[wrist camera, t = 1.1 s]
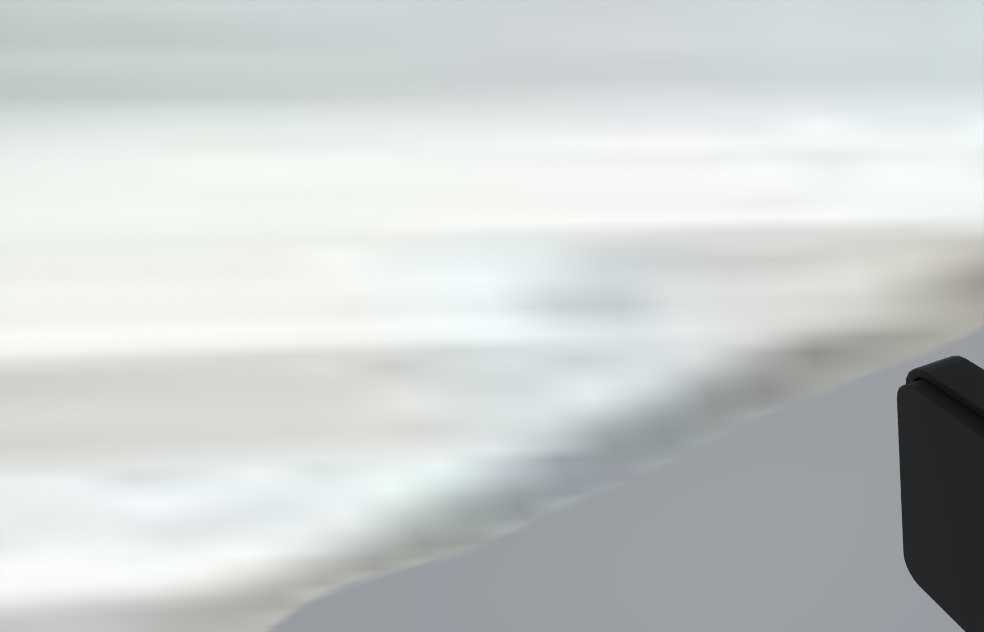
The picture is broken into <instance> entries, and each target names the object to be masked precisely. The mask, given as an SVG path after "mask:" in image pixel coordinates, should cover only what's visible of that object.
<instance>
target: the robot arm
mask: <svg viewBox="0 0 984 632" xmlns="http://www.w3.org/2000/svg"><path fill="white" fill-rule="evenodd" d="M897 409H898V430H899V431H898V433H899V456H900V480H901V503H902V526H903V527H902V528H903V551H904V559H905V562H906V565H907V568H908V570H909V572H910V574H911V575H912V577H913V579H914V580H915V581H916V583H917V584H918V585H919V586H920V587H921V588H922V589H923V590H924V591H925V592H926V593H927V594H928V595H929V596H930V597H931V598H932V599H933V600H934V601H935V602H936V603H937V604H938V605H939V606H940V607H941V608H942V609H943V610H944V611H945V612H946V613H947V614H948V615H949V616H950V617H951V618H952V619H953V620H954V621H955V622H956V623H957V624H958V625H959V626H960V627H961V628H962V629H964V631H965V632H984V370H983V369H982V368H980V367H978V366H977V365H975V364H973V363H972V362H970V361H969V360H967V359H965V358H963V357H960V356H951V357H948V358H945V359H942V360H939V361H936V362H933V363H930V364H928V365H924V366H921V367H919V368H916V369H913V370H912V371H910V372H909V374H908V376H907V378H906V385H903V386H901V387H900V388H899V390H898V393H897Z"/></svg>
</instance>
